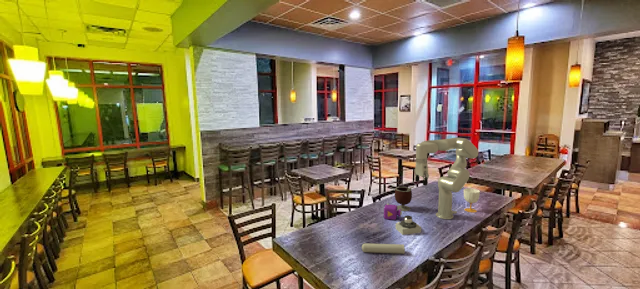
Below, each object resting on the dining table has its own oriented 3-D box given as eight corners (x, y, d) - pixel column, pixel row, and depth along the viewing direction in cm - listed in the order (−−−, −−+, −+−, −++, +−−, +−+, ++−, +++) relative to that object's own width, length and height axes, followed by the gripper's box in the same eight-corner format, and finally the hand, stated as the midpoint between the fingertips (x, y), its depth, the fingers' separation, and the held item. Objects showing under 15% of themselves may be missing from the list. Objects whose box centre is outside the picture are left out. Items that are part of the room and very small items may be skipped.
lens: (404, 223, 194) (404, 215, 194) (411, 224, 193) (412, 215, 192) (404, 226, 190) (404, 217, 189) (411, 227, 188) (412, 218, 187)
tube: (361, 248, 162) (405, 249, 159) (361, 241, 167) (403, 242, 164) (361, 254, 165) (404, 256, 162) (361, 247, 170) (402, 248, 166)
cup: (463, 212, 222) (464, 191, 220) (461, 207, 233) (462, 187, 231) (479, 214, 218) (481, 193, 215) (477, 208, 229) (478, 189, 226)
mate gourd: (394, 210, 228) (394, 187, 225) (394, 205, 241) (395, 182, 238) (413, 212, 224) (414, 188, 221) (413, 206, 237) (413, 184, 234)
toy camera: (402, 221, 208) (402, 208, 206) (383, 220, 210) (384, 207, 209) (401, 215, 218) (401, 203, 217) (383, 214, 221) (383, 202, 219)
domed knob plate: (413, 226, 198) (413, 219, 197) (421, 232, 188) (421, 225, 188) (395, 228, 195) (395, 221, 195) (402, 235, 185) (402, 227, 185)
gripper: (433, 162, 191) (432, 186, 194) (419, 157, 208) (418, 179, 211) (423, 163, 190) (423, 187, 192) (410, 158, 206) (410, 180, 209)
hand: (421, 183), depth 201 cm, fingers open, 9 cm apart
